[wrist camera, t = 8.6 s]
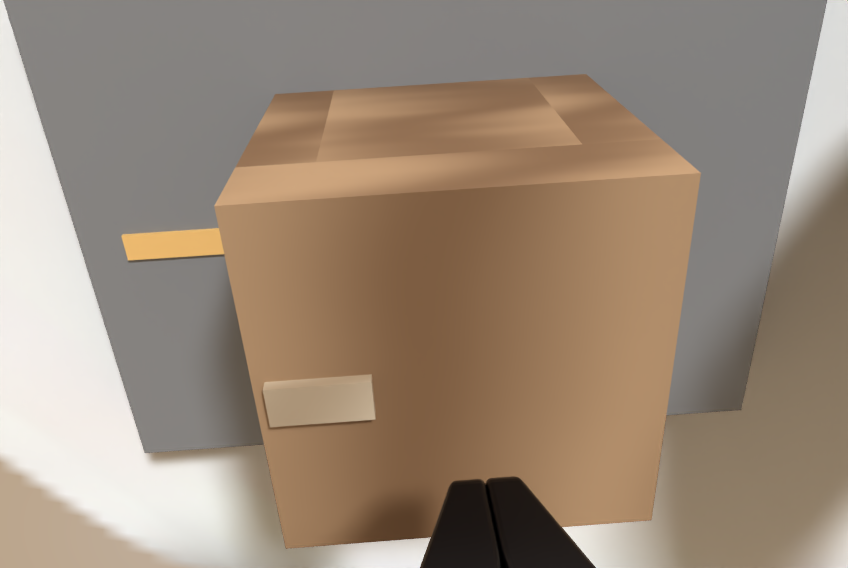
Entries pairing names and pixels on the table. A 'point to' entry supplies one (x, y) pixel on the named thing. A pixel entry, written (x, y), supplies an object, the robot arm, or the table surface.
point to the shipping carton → (457, 299)
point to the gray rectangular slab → (386, 67)
